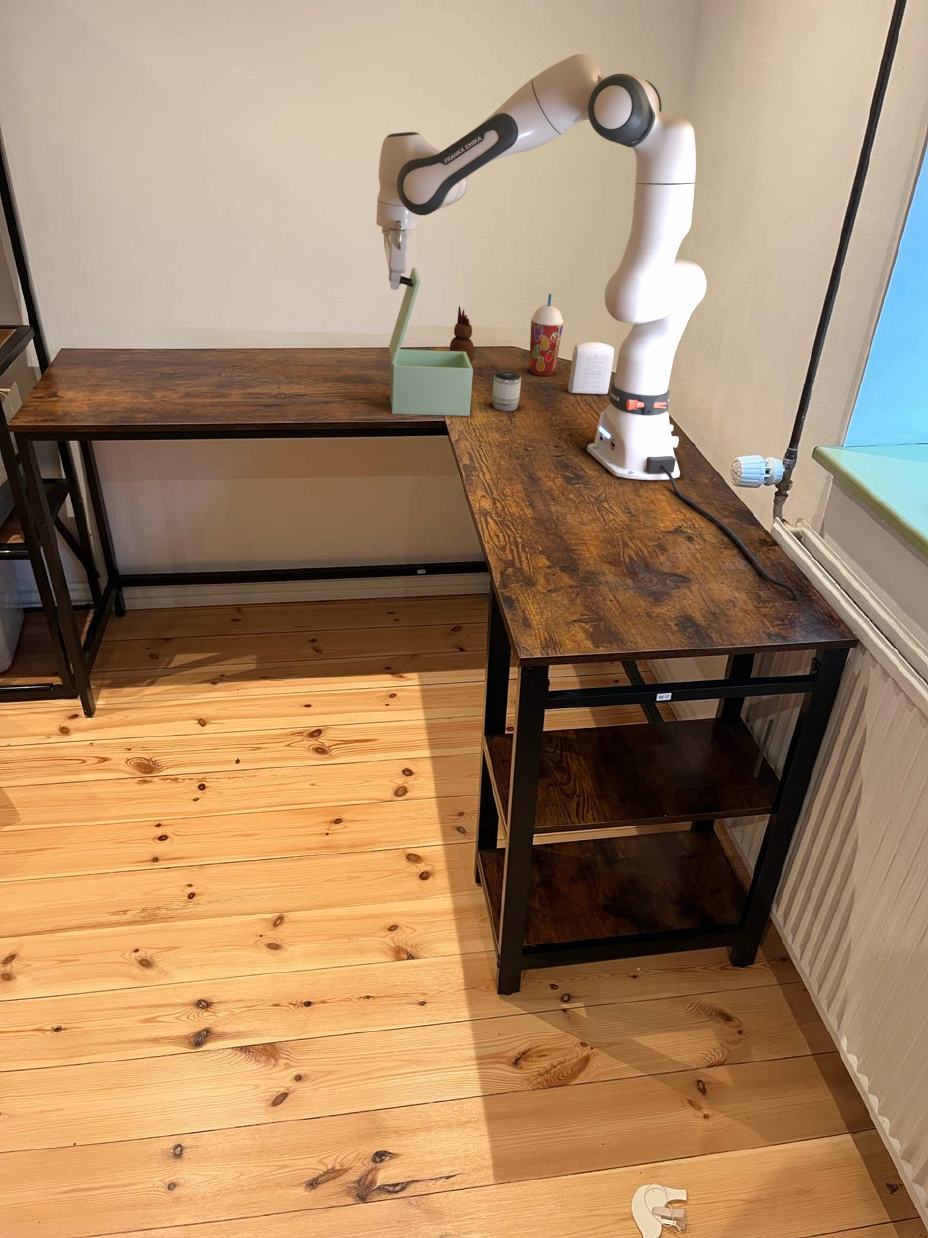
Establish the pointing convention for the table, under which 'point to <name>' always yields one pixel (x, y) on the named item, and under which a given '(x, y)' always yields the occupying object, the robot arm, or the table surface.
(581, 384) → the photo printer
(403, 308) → the lid
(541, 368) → the smoothie
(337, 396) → the table surface
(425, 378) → the storage box
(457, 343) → the wooden figurine
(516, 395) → the camera lens
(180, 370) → the table surface
